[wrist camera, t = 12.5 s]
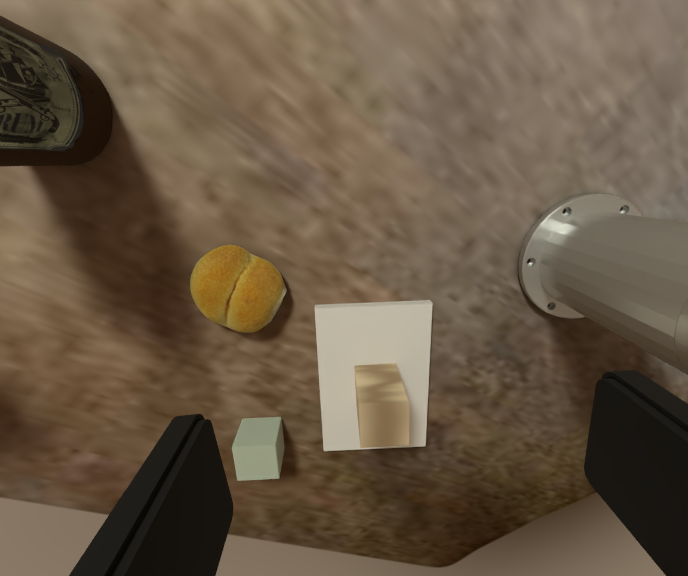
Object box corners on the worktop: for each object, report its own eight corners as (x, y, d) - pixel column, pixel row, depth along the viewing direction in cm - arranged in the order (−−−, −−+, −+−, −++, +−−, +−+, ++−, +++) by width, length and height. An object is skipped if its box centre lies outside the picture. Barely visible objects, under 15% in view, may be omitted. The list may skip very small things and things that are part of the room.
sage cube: (281, 416, 41) (275, 445, 36) (284, 447, 42) (279, 478, 38) (242, 418, 40) (231, 447, 36) (247, 449, 42) (237, 480, 38)
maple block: (395, 363, 37) (409, 403, 31) (396, 398, 39) (409, 445, 32) (354, 365, 37) (358, 407, 31) (356, 401, 39) (360, 448, 32)
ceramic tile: (429, 300, 36) (432, 303, 35) (423, 440, 42) (425, 446, 41) (315, 304, 36) (314, 308, 35) (324, 444, 42) (323, 451, 41)
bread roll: (213, 230, 34) (198, 237, 30) (297, 272, 35) (292, 283, 32) (183, 301, 36) (166, 316, 32) (263, 337, 37) (255, 355, 34)
